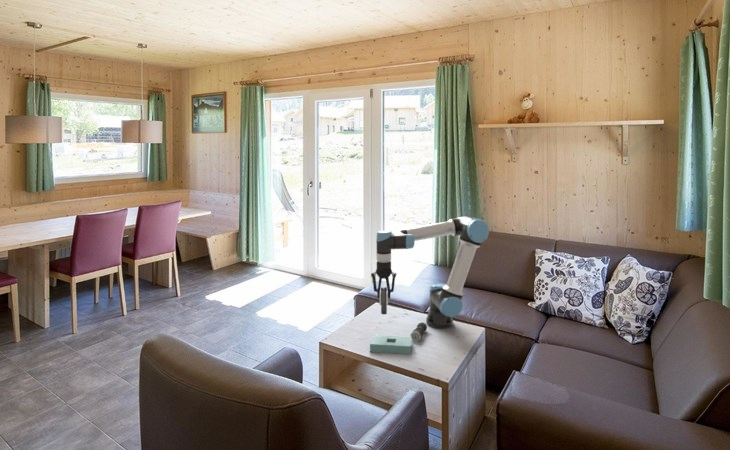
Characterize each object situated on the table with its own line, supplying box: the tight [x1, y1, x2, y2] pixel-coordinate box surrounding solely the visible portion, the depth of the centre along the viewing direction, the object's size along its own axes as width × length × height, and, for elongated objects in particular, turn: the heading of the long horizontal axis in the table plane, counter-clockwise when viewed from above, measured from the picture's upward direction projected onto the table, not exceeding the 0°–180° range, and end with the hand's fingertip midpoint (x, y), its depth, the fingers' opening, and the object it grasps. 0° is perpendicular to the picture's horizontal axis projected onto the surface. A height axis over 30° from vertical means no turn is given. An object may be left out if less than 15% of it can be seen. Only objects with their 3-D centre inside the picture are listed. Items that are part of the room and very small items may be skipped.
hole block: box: [369, 334, 413, 355], centre depth 222 cm, size 20×11×4 cm, turn 82°
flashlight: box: [409, 322, 428, 342], centre depth 237 cm, size 15×5×5 cm, turn 158°
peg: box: [380, 286, 388, 315], centre depth 232 cm, size 3×3×14 cm
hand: (383, 304), depth 233 cm, fingers closed on peg, 3 cm apart
